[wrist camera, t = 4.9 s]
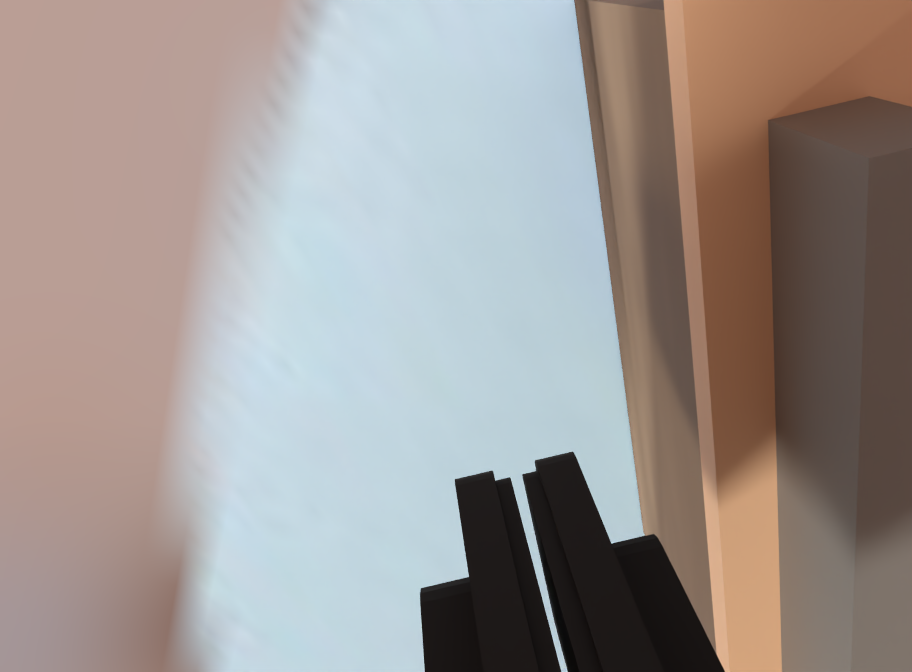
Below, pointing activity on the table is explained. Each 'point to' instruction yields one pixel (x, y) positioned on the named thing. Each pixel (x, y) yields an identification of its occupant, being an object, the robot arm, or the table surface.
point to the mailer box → (648, 274)
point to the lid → (800, 322)
